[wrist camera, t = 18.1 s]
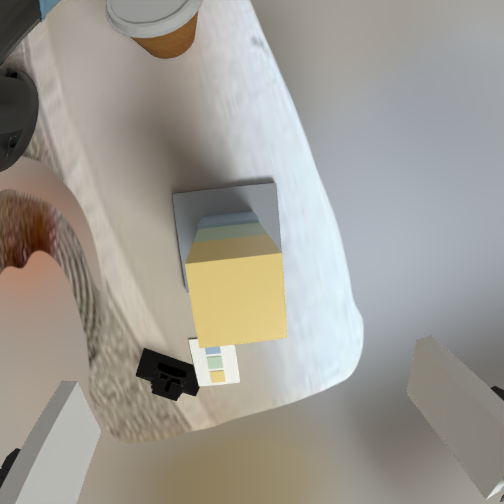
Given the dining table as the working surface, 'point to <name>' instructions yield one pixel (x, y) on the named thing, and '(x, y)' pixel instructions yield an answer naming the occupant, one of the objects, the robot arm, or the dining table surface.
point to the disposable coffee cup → (156, 23)
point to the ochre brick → (237, 290)
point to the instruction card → (214, 364)
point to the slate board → (224, 211)
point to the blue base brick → (228, 219)
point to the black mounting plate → (167, 375)
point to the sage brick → (229, 232)
